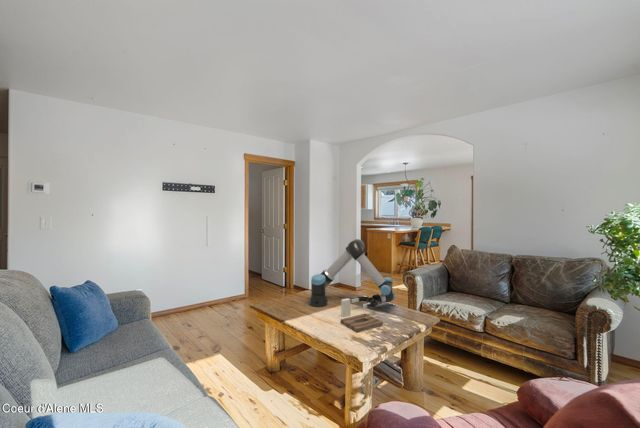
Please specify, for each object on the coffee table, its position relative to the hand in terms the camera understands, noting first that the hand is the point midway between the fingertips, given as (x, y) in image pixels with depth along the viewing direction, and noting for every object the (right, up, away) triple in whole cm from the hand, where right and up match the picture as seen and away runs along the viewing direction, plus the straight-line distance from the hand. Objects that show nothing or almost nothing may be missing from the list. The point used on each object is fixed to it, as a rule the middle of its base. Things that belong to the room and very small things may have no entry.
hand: (357, 303), depth 217 cm
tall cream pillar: (-9, -7, -5) cm, 13 cm away
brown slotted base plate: (0, -7, -21) cm, 22 cm away
